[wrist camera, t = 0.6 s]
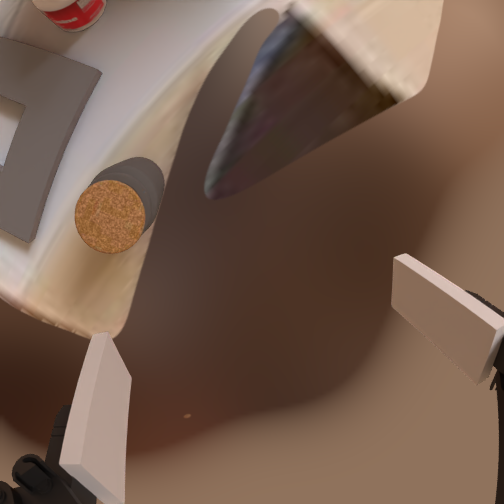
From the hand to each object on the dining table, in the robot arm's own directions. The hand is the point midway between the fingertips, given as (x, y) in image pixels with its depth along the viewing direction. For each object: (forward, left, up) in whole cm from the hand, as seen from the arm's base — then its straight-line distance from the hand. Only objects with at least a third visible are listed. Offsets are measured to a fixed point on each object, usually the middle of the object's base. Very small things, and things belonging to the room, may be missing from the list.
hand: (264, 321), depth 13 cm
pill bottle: (-26, -11, -23) cm, 37 cm away
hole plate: (-15, -23, -23) cm, 36 cm away
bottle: (-4, -7, -23) cm, 25 cm away
